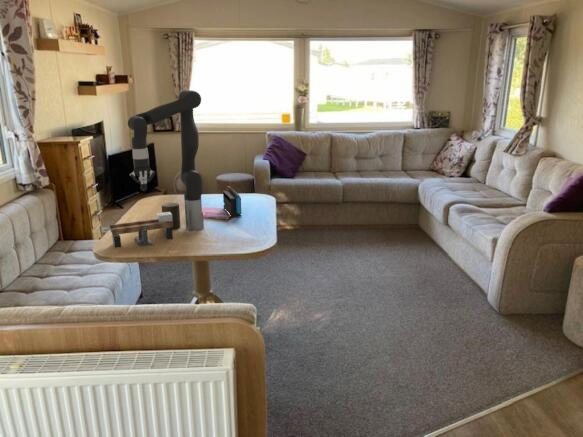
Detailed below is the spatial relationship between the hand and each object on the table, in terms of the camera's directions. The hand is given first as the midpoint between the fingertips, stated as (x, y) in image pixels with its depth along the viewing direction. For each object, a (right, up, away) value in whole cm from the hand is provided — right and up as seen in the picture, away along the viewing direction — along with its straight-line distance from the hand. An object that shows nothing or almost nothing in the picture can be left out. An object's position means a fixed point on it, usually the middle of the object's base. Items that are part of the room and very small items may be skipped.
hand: (144, 190), depth 240 cm
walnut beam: (-2, -19, +1) cm, 19 cm away
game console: (+38, -11, +55) cm, 68 cm away
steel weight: (+9, -17, +6) cm, 20 cm away
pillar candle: (+8, -20, +26) cm, 33 cm away
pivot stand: (-2, -26, +4) cm, 27 cm away
